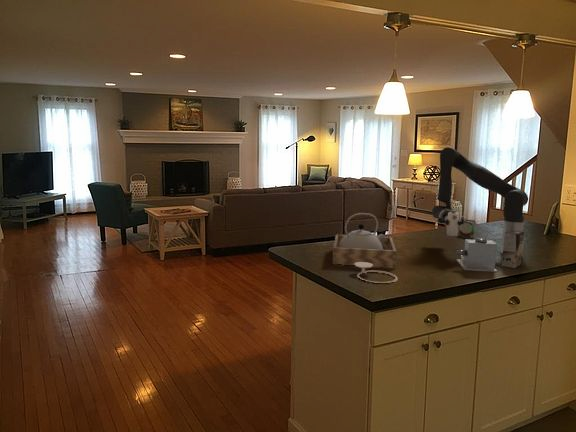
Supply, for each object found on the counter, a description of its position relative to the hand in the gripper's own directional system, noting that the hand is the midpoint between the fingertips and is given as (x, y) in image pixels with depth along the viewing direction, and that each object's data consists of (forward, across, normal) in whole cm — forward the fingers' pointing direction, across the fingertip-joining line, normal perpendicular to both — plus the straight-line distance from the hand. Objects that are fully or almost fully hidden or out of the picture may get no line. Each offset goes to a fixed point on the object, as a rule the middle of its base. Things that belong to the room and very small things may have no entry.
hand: (454, 223), depth 230 cm
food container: (-57, +21, +18) cm, 63 cm away
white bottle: (-3, 0, +6) cm, 7 cm away
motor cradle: (+12, +7, +18) cm, 23 cm away
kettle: (+9, -44, +18) cm, 48 cm away
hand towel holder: (+40, -39, +18) cm, 59 cm away
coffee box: (+7, +26, +18) cm, 32 cm away
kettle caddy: (+9, -43, +18) cm, 48 cm away
